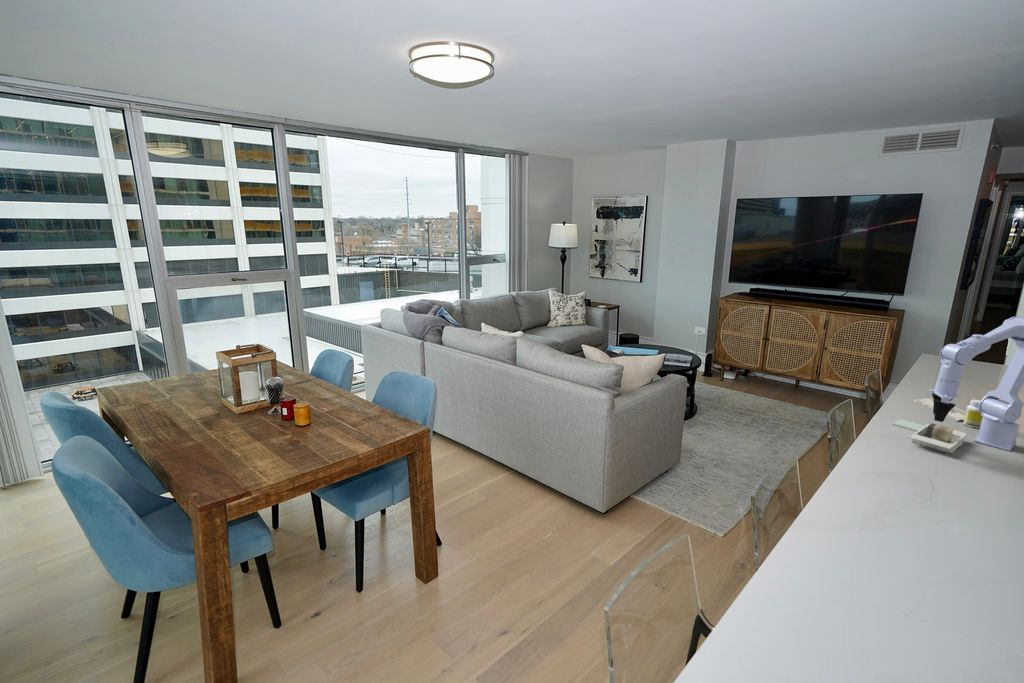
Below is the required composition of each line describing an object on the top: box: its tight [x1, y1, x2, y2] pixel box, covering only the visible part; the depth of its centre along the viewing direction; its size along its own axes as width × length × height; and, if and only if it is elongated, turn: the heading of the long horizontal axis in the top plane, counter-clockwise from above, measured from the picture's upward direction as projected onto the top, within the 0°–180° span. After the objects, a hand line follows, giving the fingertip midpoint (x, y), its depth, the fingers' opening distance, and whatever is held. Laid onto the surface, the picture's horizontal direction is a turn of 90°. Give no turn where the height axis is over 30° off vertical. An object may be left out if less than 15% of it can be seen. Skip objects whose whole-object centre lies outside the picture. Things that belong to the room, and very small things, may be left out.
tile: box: [892, 418, 925, 432], centre depth 189 cm, size 8×7×1 cm
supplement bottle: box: [962, 399, 983, 429], centre depth 188 cm, size 5×5×10 cm
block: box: [925, 423, 954, 444], centre depth 174 cm, size 6×4×6 cm, turn 36°
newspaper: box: [913, 397, 966, 422], centre depth 204 cm, size 23×12×2 cm, turn 179°
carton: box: [908, 422, 968, 454], centre depth 174 cm, size 11×20×3 cm, turn 126°
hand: (937, 418), depth 170 cm, fingers open, 7 cm apart
